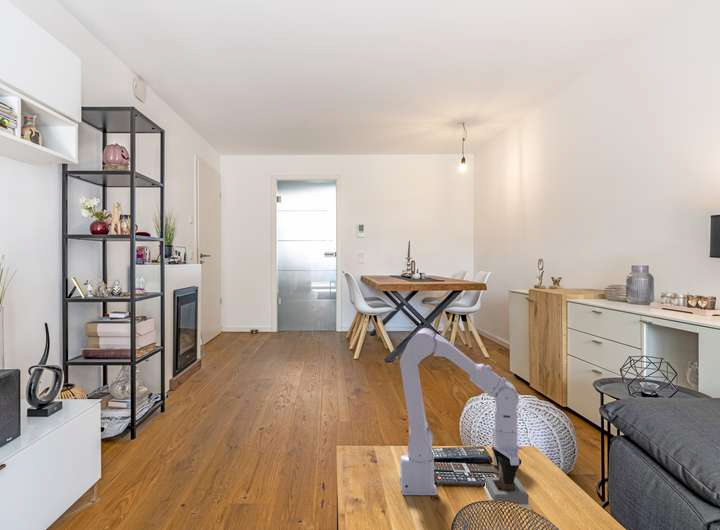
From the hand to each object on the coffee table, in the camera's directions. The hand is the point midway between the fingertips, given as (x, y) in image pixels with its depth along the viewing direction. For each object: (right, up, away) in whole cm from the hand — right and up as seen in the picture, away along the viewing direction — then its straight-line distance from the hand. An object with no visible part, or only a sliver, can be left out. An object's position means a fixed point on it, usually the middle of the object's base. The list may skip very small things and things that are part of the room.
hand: (506, 479), depth 113 cm
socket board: (0, -5, 0) cm, 5 cm away
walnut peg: (0, -2, 0) cm, 2 cm away
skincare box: (+5, -5, +19) cm, 20 cm away
